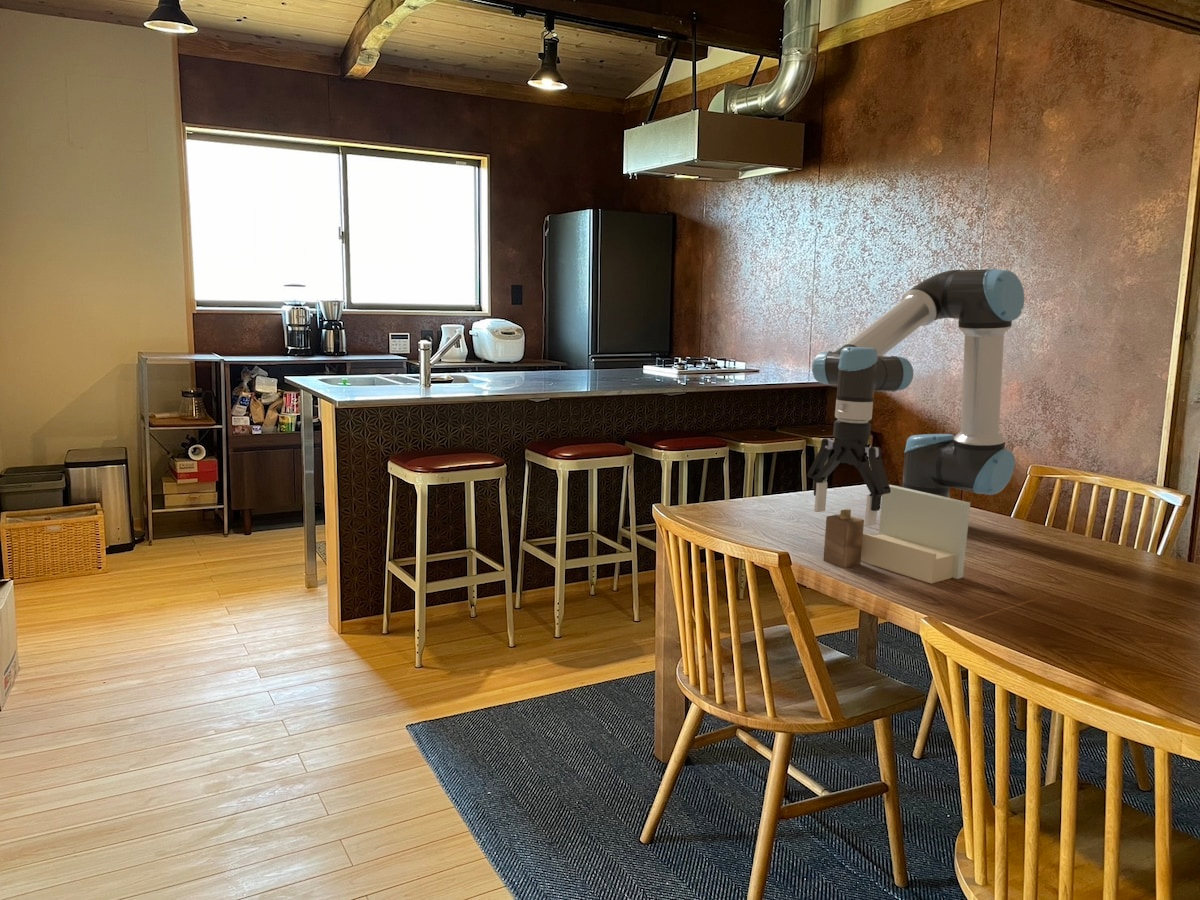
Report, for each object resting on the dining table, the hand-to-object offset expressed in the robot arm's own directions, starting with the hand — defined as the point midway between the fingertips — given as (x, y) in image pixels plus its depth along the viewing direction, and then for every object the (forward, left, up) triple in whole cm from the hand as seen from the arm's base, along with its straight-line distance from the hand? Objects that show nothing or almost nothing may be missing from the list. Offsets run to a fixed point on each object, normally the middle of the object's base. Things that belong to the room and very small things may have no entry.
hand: (844, 518), depth 186 cm
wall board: (-10, +10, -10) cm, 17 cm away
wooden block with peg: (0, 0, -10) cm, 10 cm away
